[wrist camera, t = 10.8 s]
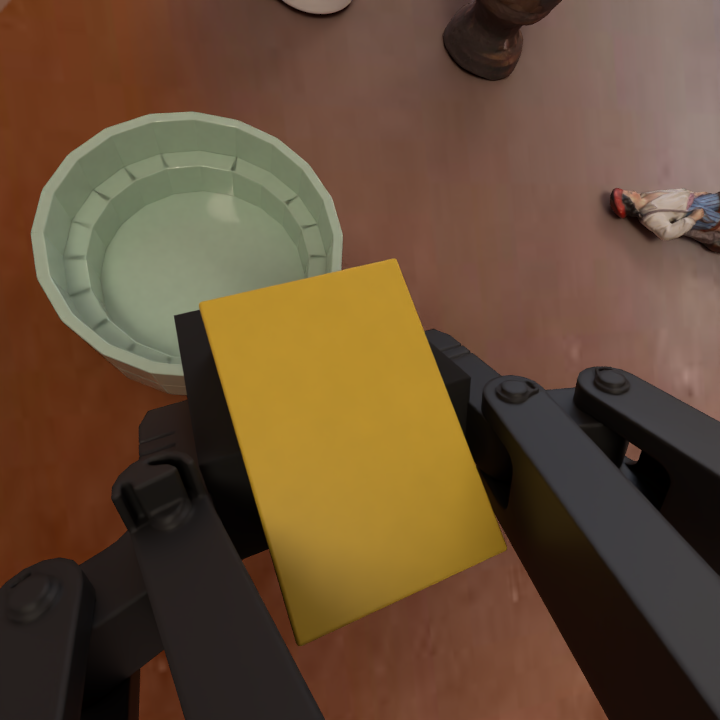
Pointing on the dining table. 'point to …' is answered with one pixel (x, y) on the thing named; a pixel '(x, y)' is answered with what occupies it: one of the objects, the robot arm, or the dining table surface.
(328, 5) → the beverage can
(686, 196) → the figurine
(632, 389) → the robot arm
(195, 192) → the bowl
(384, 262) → the sponge
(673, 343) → the dining table surface
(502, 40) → the mortar and pestle
